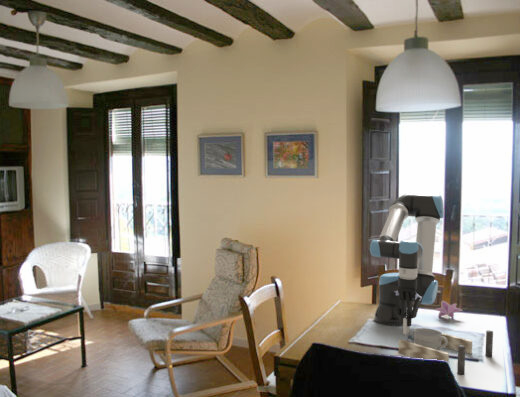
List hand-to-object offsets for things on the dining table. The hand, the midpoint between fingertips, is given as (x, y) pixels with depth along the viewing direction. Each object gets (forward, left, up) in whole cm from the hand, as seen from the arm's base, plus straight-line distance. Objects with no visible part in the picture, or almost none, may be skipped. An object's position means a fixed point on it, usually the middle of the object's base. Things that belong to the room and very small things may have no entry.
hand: (406, 333), depth 204 cm
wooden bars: (+17, 0, -5) cm, 17 cm away
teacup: (+11, 0, -5) cm, 12 cm away
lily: (-5, +48, -5) cm, 49 cm away
